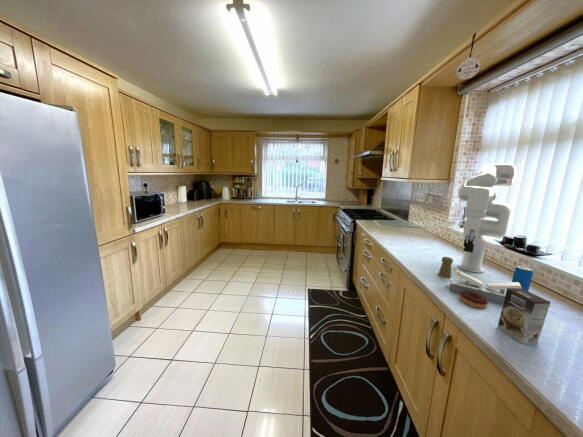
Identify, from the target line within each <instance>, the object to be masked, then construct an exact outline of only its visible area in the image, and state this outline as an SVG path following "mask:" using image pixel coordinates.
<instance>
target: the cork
mask: <svg viewBox="0 0 583 437" xmlns="http://www.w3.org/2000/svg"><path fill="white" fill-rule="evenodd" d="M441 262H442V263H441V266H440V268H439V271H438V276H439V277H441V278H446V279H451V278H452V264H453V263H454V259H453V258H452V257H449V256H442V258H441Z"/></svg>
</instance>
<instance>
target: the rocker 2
mask: <svg viewBox="0 0 583 437" xmlns="http://www.w3.org/2000/svg"><path fill="white" fill-rule="evenodd" d="M486 284H487V285H486V286H488V288H489V290H507V288H517V289H519V288H522V287H521V285H520V284H519V282H512V281H511V282H510V281H508V282H487V283H486Z"/></svg>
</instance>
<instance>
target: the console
mask: <svg viewBox="0 0 583 437" xmlns="http://www.w3.org/2000/svg"><path fill="white" fill-rule="evenodd" d="M449 291H450V292H452V293H456V294H459V295H460V293H461V292H462V291H470V292H474V293H477V294H479V295H481V296H483V297H484V298H485V299H486V300H487V302H491V303H496V304H499V305H502V306H503V303H504V299H505V295H506V291H507V290H489V288H488V285H485V284H483V285H482V287H479V286H477V285H475V284H473V283H470V282H468V281H466V280H464V279H458V278H453V277H451V278H450V281H449Z"/></svg>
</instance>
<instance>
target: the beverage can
mask: <svg viewBox="0 0 583 437" xmlns="http://www.w3.org/2000/svg"><path fill="white" fill-rule="evenodd" d="M533 275H534V270H533V268H531V267H528V266H523V265H516V266H515V268H514V272H513V275H512V279H511V282H519V284H520V285H521V287H522V289H524V290H526V291H528V292H530V291H529V290H530V287H531V283H532V279H533Z"/></svg>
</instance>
